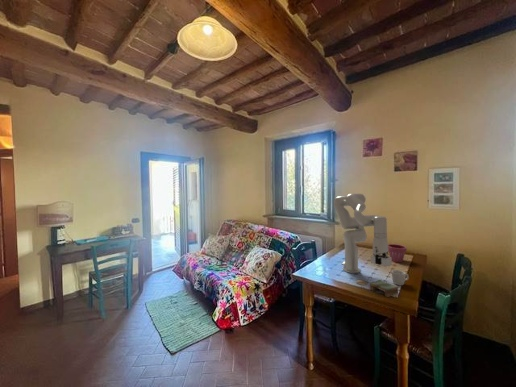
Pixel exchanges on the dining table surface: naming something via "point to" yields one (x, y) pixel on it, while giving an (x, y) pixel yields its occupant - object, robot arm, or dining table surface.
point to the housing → (382, 260)
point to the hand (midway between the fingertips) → (381, 262)
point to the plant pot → (396, 252)
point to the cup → (399, 277)
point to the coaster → (361, 282)
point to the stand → (384, 287)
